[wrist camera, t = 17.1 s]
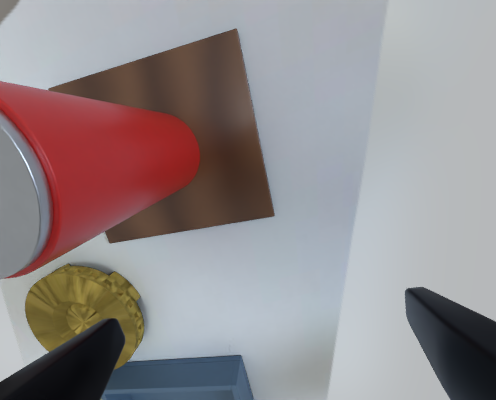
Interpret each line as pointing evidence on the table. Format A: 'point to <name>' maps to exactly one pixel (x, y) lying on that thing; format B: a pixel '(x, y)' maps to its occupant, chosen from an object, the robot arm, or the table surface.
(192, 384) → the tray
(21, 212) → the can
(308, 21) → the table surface
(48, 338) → the gold round disc
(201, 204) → the walnut board
